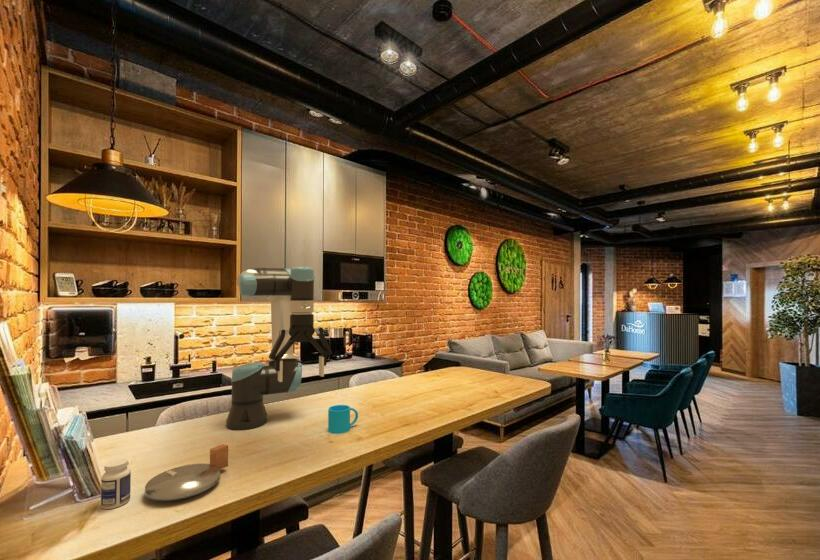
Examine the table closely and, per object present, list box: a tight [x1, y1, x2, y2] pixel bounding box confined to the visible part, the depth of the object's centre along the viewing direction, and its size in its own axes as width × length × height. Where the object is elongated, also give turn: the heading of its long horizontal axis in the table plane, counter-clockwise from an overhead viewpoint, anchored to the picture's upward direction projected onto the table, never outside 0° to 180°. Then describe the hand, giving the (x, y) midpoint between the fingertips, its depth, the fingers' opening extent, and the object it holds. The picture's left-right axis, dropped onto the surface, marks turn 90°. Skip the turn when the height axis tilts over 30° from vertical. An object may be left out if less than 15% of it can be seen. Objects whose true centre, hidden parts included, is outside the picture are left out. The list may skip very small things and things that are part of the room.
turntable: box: [144, 443, 229, 502], centre depth 100 cm, size 17×20×6 cm
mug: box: [327, 404, 359, 434], centre depth 143 cm, size 12×8×8 cm
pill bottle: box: [100, 457, 132, 510], centre depth 92 cm, size 6×6×10 cm
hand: (301, 378), depth 122 cm, fingers open, 13 cm apart
